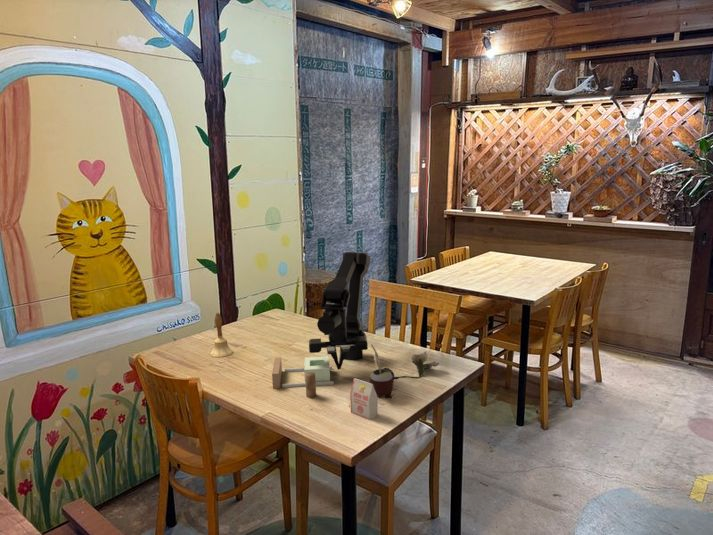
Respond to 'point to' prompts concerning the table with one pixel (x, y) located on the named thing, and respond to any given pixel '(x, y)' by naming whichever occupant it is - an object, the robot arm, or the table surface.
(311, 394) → the walnut peg
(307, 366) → the sliding block
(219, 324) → the hand bell
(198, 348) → the table surface
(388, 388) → the mate gourd
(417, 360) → the artificial flower
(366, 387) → the tea bag
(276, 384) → the guide board
